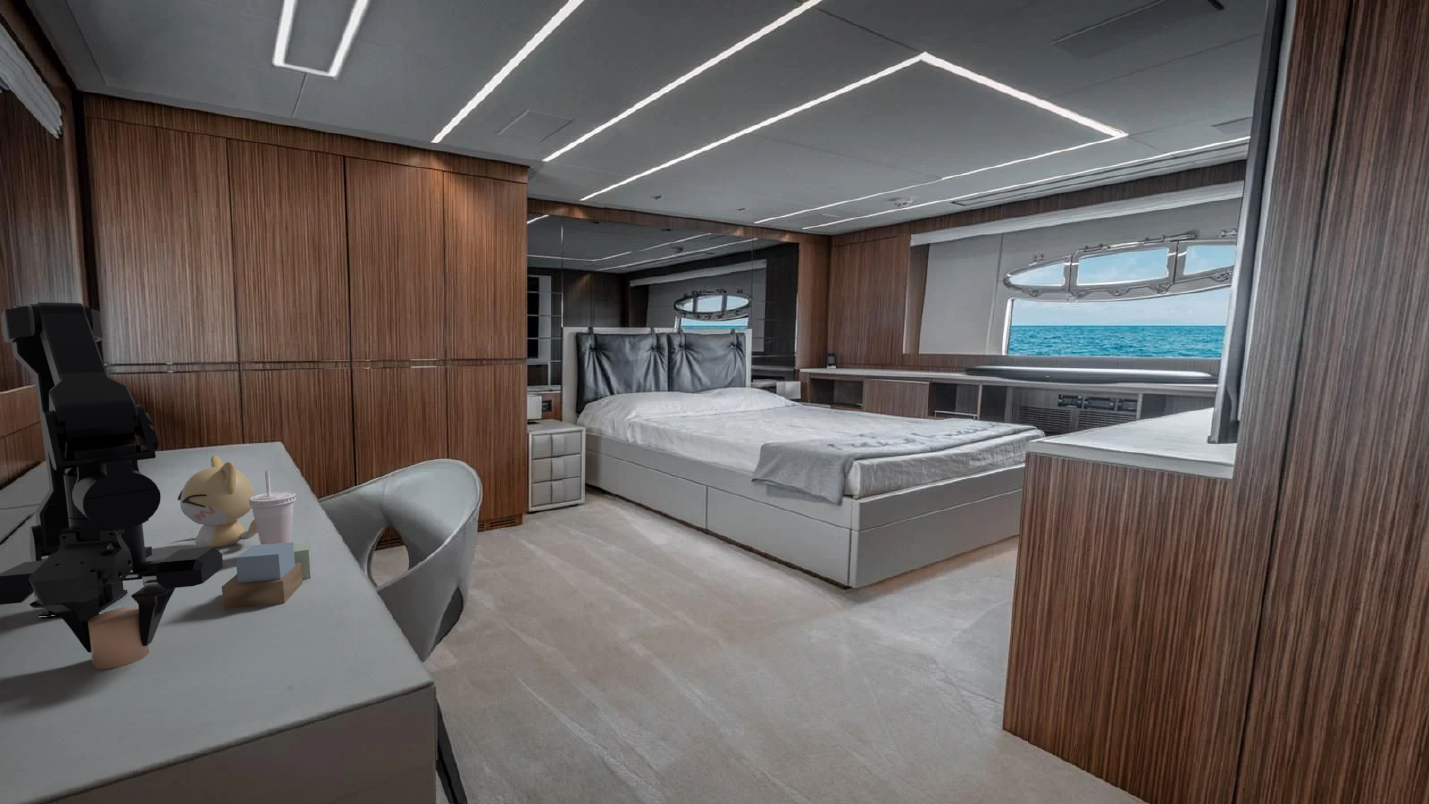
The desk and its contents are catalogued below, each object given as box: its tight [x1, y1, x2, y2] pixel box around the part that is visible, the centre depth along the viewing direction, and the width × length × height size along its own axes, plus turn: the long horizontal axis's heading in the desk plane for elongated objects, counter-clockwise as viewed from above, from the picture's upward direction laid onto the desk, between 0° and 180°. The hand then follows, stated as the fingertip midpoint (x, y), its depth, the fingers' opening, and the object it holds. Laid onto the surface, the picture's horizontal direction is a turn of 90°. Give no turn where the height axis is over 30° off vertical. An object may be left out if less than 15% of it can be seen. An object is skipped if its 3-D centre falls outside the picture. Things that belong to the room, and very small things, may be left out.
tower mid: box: [235, 541, 295, 583], centre depth 87 cm, size 5×5×4 cm
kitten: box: [177, 454, 258, 548], centre depth 108 cm, size 15×10×15 cm
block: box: [293, 540, 312, 581], centre depth 94 cm, size 4×4×4 cm
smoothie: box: [249, 470, 297, 545], centre depth 104 cm, size 6×6×14 cm
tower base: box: [221, 563, 303, 610], centre depth 88 cm, size 7×7×4 cm
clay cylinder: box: [88, 606, 150, 670], centre depth 71 cm, size 5×5×5 cm
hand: (120, 647), depth 71 cm, fingers closed on clay cylinder, 5 cm apart
